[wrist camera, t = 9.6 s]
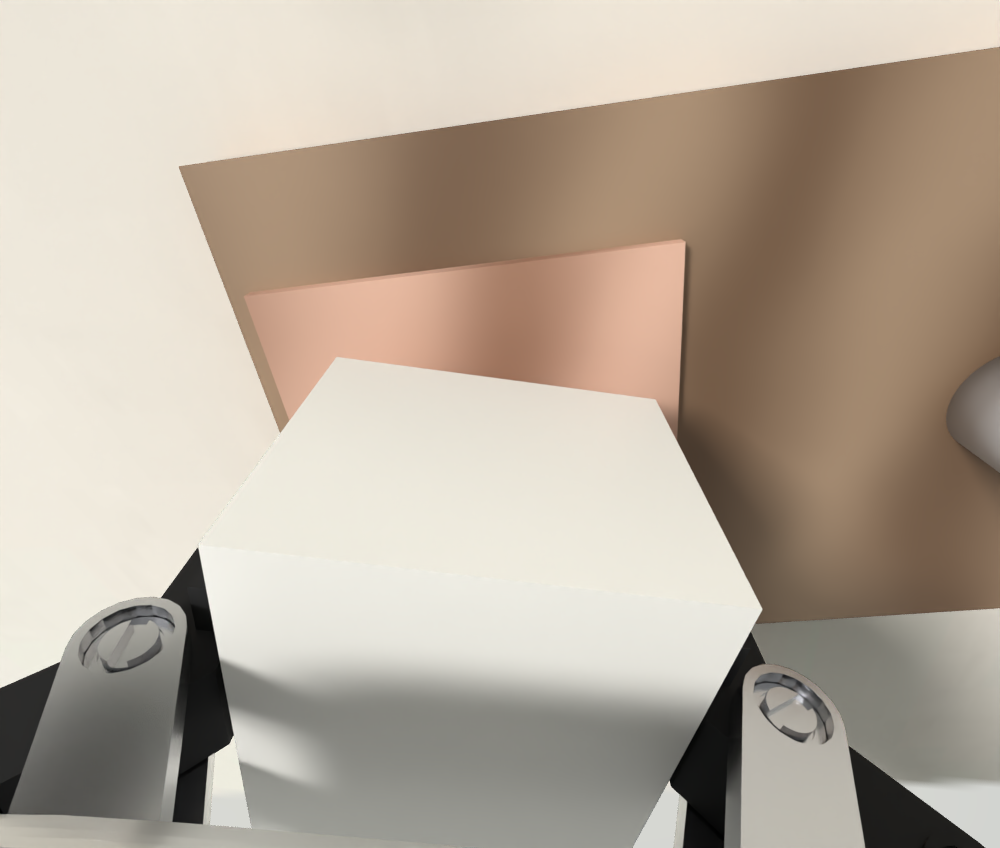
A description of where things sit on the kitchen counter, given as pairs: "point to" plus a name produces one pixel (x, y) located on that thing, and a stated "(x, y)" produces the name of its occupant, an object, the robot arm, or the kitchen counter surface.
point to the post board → (687, 300)
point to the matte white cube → (469, 612)
